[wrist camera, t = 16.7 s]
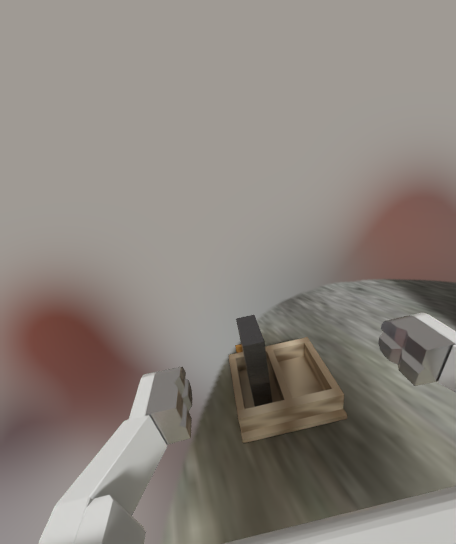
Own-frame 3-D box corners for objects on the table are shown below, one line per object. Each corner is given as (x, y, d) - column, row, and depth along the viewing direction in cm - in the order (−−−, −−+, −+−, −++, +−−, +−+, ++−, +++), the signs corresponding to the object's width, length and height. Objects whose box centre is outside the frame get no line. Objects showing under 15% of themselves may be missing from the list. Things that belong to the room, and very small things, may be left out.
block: (263, 373, 34) (254, 314, 28) (272, 404, 29) (264, 341, 24) (247, 377, 34) (236, 318, 28) (255, 408, 29) (242, 346, 24)
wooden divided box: (306, 349, 37) (305, 328, 35) (346, 418, 27) (350, 394, 25) (231, 366, 37) (226, 346, 35) (243, 443, 26) (236, 420, 24)
